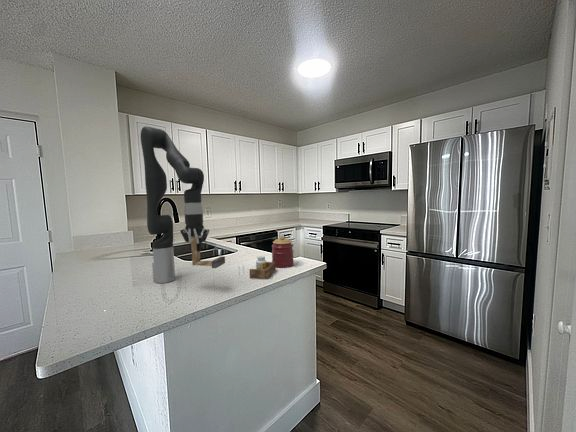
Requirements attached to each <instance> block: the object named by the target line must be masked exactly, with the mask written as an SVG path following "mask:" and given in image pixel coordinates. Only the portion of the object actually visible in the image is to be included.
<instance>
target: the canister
mask: <svg viewBox="0 0 576 432" xmlns="http://www.w3.org/2000/svg"><path fill="white" fill-rule="evenodd" d="M272 243H273V244H272V245H271V249H272V251H271V256H272V257H271V260H272V261H271V262H276V268H278V269H284V268H285V269H286V268H291V267H292V266H294V249H293V247H294V244H292V240H290V238H285V236H284V235H280V237H279V238H276V239H275V240H273V241H272Z"/></svg>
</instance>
